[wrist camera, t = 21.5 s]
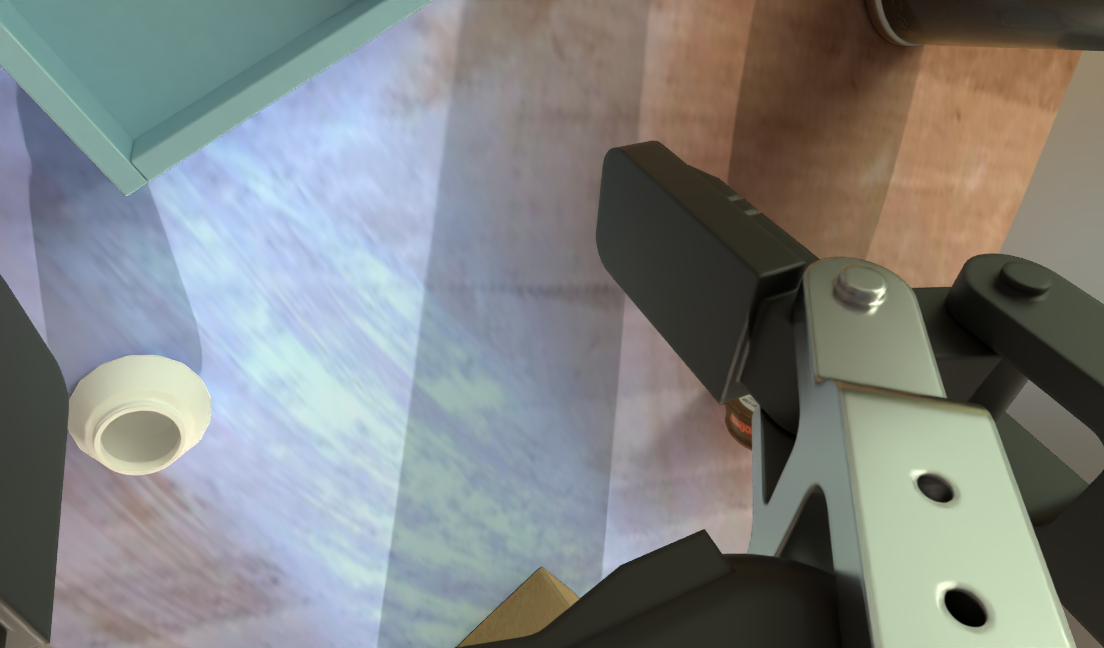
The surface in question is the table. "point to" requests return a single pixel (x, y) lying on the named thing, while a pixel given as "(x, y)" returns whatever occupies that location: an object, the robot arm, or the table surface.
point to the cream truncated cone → (139, 413)
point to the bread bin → (173, 67)
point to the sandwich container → (525, 610)
